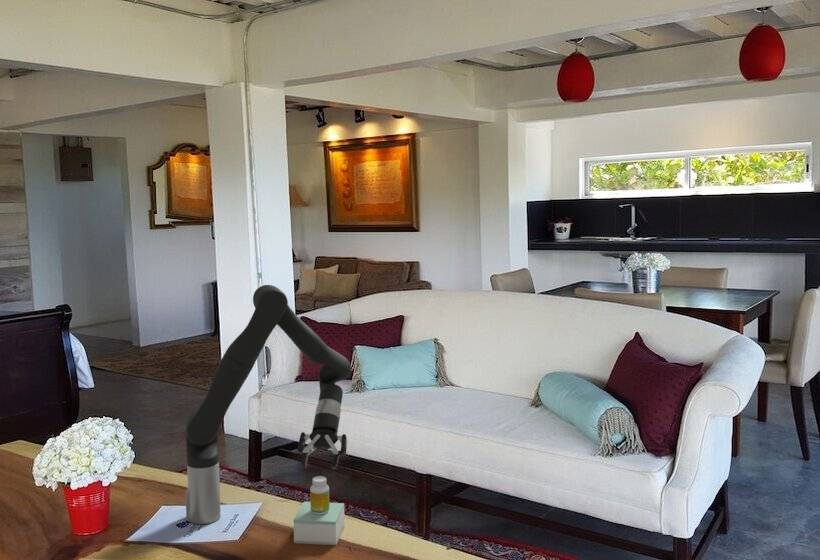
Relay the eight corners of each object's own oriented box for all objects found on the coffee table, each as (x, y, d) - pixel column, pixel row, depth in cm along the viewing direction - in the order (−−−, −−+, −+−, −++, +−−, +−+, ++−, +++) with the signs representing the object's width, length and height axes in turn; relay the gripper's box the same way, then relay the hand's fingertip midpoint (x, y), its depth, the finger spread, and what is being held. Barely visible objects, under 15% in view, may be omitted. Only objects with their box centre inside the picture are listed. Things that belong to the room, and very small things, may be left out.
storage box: (294, 543, 212) (293, 522, 211) (304, 524, 224) (304, 505, 223) (336, 545, 210) (335, 524, 210) (344, 526, 222) (344, 506, 222)
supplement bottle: (326, 516, 213) (325, 483, 212) (308, 514, 214) (307, 481, 213) (331, 507, 218) (331, 475, 217) (314, 506, 219) (313, 474, 218)
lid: (293, 522, 211) (293, 519, 211) (304, 504, 223) (304, 501, 223) (335, 524, 210) (335, 521, 210) (344, 505, 221) (344, 503, 221)
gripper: (301, 410, 226) (292, 461, 216) (348, 412, 225) (341, 463, 215) (306, 422, 232) (297, 472, 222) (352, 424, 230) (344, 474, 221)
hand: (318, 467), depth 218 cm, fingers open, 8 cm apart
